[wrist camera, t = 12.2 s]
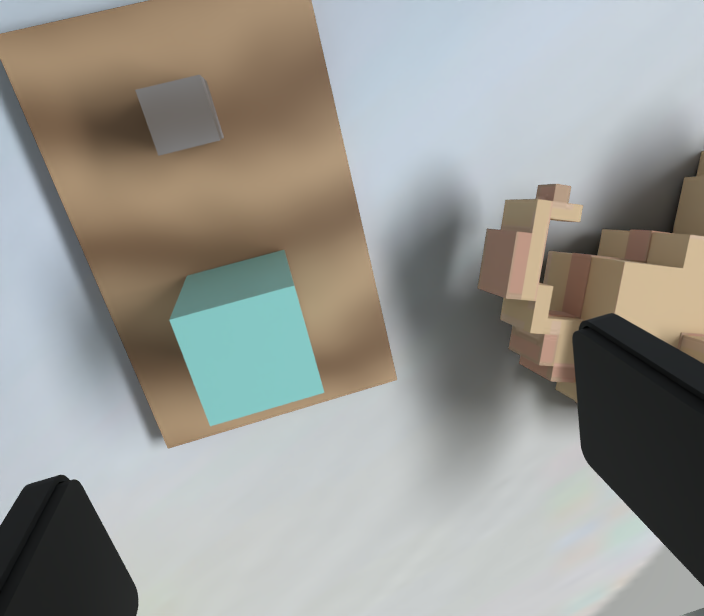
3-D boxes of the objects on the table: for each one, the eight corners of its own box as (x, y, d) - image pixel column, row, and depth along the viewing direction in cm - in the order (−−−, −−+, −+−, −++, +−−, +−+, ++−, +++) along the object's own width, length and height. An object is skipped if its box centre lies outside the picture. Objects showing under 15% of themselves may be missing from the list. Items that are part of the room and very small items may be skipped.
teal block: (186, 275, 28) (169, 319, 22) (284, 249, 28) (294, 285, 22) (218, 363, 30) (210, 426, 23) (308, 337, 30) (324, 392, 24)
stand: (2, 39, 24) (-59, 19, 19) (300, -28, 26) (313, -63, 21) (170, 437, 32) (157, 493, 27) (392, 371, 33) (416, 413, 29)
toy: (835, 516, 29) (945, 134, 26) (505, 519, 25) (585, 61, 21) (689, 440, 38) (756, 153, 35) (432, 432, 34) (480, 105, 31)
